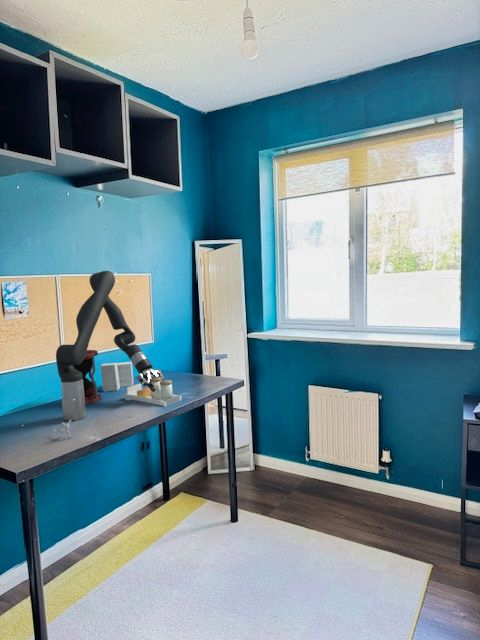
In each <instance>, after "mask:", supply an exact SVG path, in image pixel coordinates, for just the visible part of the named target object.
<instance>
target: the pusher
mask: <svg viewBox="0 0 480 640" xmlns="http://www.w3.org/2000/svg"><path fill="white" fill-rule="evenodd" d="M150 395H151V390H150V388H149V387H148V386H147V387H145V388H142V390H139V391H137V396H142V397H147V396H150Z"/></svg>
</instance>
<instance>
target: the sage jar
mask: <svg viewBox="0 0 480 640" xmlns="http://www.w3.org/2000/svg"><path fill="white" fill-rule="evenodd" d="M160 387H161V401H165V400H166V399H169V398H172V397H173V395H174V393H173V380H171V379H165V380H164V379H163V380H162V381H160Z"/></svg>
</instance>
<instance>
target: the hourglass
mask: <svg viewBox="0 0 480 640" xmlns="http://www.w3.org/2000/svg"><path fill="white" fill-rule="evenodd" d="M98 355H99V351H98V350H96V349H87V351H86V355H85V357H84V360H83V361H82V363H81V364H79V365H73V366H74V368H75V369H76V370H78V371H80V372H81V373H82V375H83V386H84V397H85V406H86V405H91V404H95V403H97V402H100V401H101V400H103V399H102V398H103V397H102V394H100V393H98V386H97V381H96V380H95V378H94V377H95V376H94V375H95V373H96V362H95V361H96V359H95V356H98ZM87 375H88V377H89V378H88V377H86V376H87Z"/></svg>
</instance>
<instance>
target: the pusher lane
mask: <svg viewBox="0 0 480 640" xmlns="http://www.w3.org/2000/svg"><path fill="white" fill-rule="evenodd" d="M142 386H143V385H142V383H137V384H133V386H126V387H125V390H126V393H125V394H124V395H125V396H124V397H125V401H132V400H133V401H138V402H143V403H148V404H152V405H156V406H161V407H167V406H170V405H172V404H176V403H177V402H180V401H182V396H181V395H178V394H173V397H172V398H169V399H166V400H165V401H161V399H159V400H156V399H152V398H151V395H150V396H147V397H142V396H137V391H139V390H142V389H143V387H142Z"/></svg>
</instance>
